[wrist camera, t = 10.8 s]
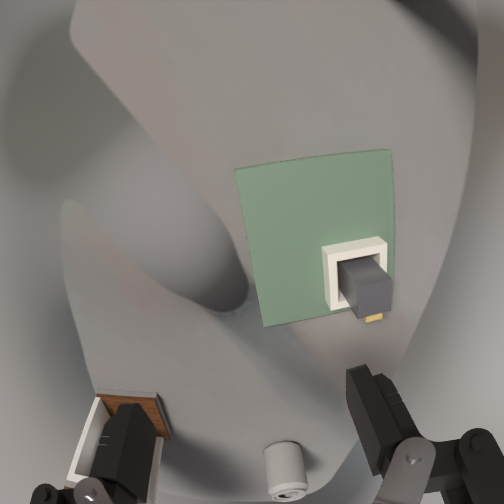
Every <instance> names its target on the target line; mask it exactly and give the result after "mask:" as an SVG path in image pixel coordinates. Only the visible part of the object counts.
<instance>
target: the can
mask: <svg viewBox="0 0 504 504" xmlns="http://www.w3.org/2000/svg"><path fill="white" fill-rule="evenodd" d="M264 461H265V470H266V479H267V488H268V494H269V495H271V496H272V499H273V500H274V501H277V502H289V501H294V500H298V499H301V498H302V497H304V496H305V495H306V492H305V491H306V490H307V489H308V481H307V476H306V472H305V467H304V462H303V457H302V452H301V448H300V446H299V445H297V444H295V443H293V442H290V441H280V442H276V443H273V444H271V445H270V446H269V447H268V448H267V449H265V451H264Z"/></svg>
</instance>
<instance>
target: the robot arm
mask: <svg viewBox="0 0 504 504" xmlns="http://www.w3.org/2000/svg"><path fill="white" fill-rule="evenodd" d="M346 400H347V404H348V408H349V411H350V413H351V416H352V419H353V422H354V424H355V427H356V430H357V432H358V435H359V438H360V440H361V443H362V446H363V449H364V452H365V454H366V457H367V460H368V463H369V466H370V469H371V472H372V474H373V476H375V475H378V474H381V475H382V478H383V482H382V485H381V486H380V489H379V491H378V493H377V495H376V497H375V499H374V501H373V503H372V504H420V502H421V500H422V497H423V494H424V493H431V492H438V491H440V492H441V495H442V497H443V500H444V503H445V504H504V456H503V454H502V452H501V450H500V448H499V446H498V444H497V442H496V440H495V439H494V437H493V435H492V434H491V433H490V432H489V431H488V430H485V429H482V428H475V429H471V430H469V431H467V432H466V433H465V434H464V435H463V436H462V437H461V439H457V440H450V441H444V442H434V441H430V440H428V439H426V438H424V437H423V436H422V435H421V434H420V433H419V431H418V429H417V427H416V425H415V424H414V422H413V420H412V418H411V416H410V414H409V412H408V410H407V408H406V406H405V404H404V403H403V402H402V399H401V397H400V395H399V394H398V392H397V389H396V388H395V386H394V384H393V382H392V381H391V380H390V379H388V378H387V377H386V376H385V375H383V374H382V373H381V374H378V375H375V376H372V374H371V372H370V370H369V368H368V366H367V365H366V364H364V365H361V366H357V367H354V368H350V369H347V370H346ZM155 443H156V429H155V426H154V424H153V422H152V421H151V420H150V418H149V417H148V415H147V414H146V412H145V411H144V409H143V408H142V406H141V405H140V404H139V403H121V404H120V405H119V406H118V409H117V412H116V415H115V416H111V417H110V418H109V420H108V421H107V422H106V424H105V425H104V428H103V431H102V434H101V438H100V440H99V446H98V447H97V450H96V454H95V457H94V460H93V464H92V467H91V471H90V474H89V477H88V478H84V479H82V480H80V481H79V482H78V483H77V484H76V486H75V488H69V489H62V490H57V489H56V488H55V487H53V486H52V485H50V484H41V485H39V486H38V487H37V488H36V489H35V490H34V492H33V494H32V498H31V502H30V504H136V503H146V502H147V495H148V488H149V481H150V474H151V468H152V461H153V455H154V449H155Z"/></svg>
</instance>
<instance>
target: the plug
mask: <svg viewBox="0 0 504 504" xmlns="http://www.w3.org/2000/svg"><path fill="white" fill-rule="evenodd" d="M337 265H338V283H339V289H340V291H341V293H342V294H343V296H344V297H345V299H346V301H347V302H348V304H349V305H350V307H351V309H352V310H353V312H354V314H355V315H356V317H357V319H360V318H363V319H364V320H365V322H366V323H367V322H371V321H375V320H379V319H382V316H383V312H387V311H391V297H392V278H391V277H390V276H389V275H388V274H387V273H386V272H385V271H384V270H383V269H382V268H381V267H380V266H379V265H378V264H377V263H376V262H375V261H374V259H373V258H372V257H371V256H370V255H367V256H362V257H357V258H352V259H347V260H342V261H337Z"/></svg>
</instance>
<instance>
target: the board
mask: <svg viewBox="0 0 504 504" xmlns="http://www.w3.org/2000/svg"><path fill="white" fill-rule="evenodd" d="M235 175H236V181H237V186H238V191H239V197H240V202H241V208H242V213H243V218H244V224H245V229H246V235H247V240H248V245H249V251H250V256H251V262H252V267H253V272H254V278H255V283H256V288H257V294H258V299H259V304H260V310H261V315H262V320H263V326H264V327H268V326H273V325H279V324H284V323H289V322H294V321H299V320H304V319H309V318H314V317H319V316H324V315H328V314H333V313H337V312H342V311H346V310H350V309H351V307H350V305H349V304H348V302H347V301H346V299H345V297H344V296H343V294H342V293H341V291H340V289H339V283H338V265H337V261H342V260H347V259H352V258H357V257H362V256H367V255H370V256H371V257H372V258H373V259H374V261H375V262H376V263H377V264H378V265H379V266H380V267H381V268H382V269H383V270H384V271H385V272H386V273H387V274H388V275H389V276H390V277H391V278H392V294H393V276H394V191H393V173H392V159H391V150H389V149H380V150H369V151H358V152H349V153H340V154H331V155H323V156H315V157H308V158H300V159H293V160H286V161H280V162H273V163H267V164H261V165H255V166H249V167H244V168H238V169H235ZM391 299H392V297H391Z"/></svg>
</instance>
